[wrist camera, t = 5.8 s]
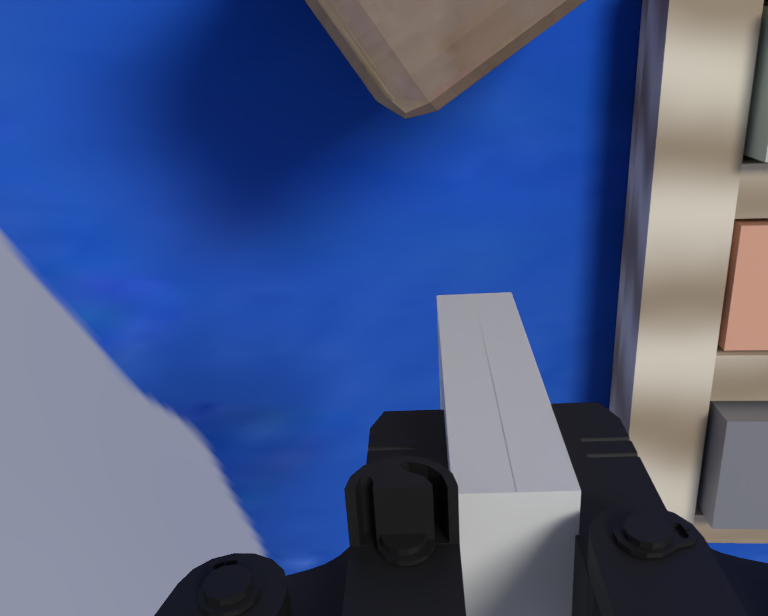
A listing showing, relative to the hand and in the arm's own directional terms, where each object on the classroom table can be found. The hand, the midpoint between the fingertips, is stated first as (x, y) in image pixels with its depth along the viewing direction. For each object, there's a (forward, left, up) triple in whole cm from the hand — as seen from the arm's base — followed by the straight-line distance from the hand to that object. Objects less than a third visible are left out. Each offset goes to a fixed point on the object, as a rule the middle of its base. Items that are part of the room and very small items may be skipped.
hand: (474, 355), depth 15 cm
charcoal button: (+14, +16, -20) cm, 29 cm away
